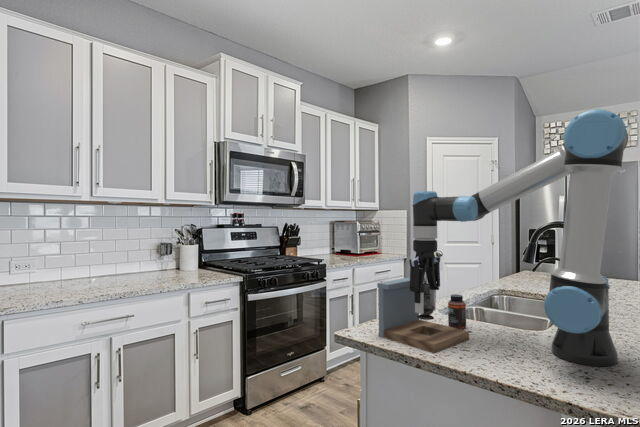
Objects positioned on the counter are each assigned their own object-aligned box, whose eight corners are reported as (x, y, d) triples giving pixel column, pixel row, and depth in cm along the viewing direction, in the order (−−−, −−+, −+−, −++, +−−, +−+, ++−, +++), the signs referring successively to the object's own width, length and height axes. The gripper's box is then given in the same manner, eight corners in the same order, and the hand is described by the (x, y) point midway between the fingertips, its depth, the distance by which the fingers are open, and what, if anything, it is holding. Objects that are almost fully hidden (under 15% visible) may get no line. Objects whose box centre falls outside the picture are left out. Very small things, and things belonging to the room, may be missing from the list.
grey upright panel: (425, 327, 137) (425, 277, 137) (388, 339, 124) (387, 284, 124) (415, 324, 140) (414, 276, 140) (377, 336, 127) (377, 283, 127)
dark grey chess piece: (435, 320, 122) (435, 282, 122) (416, 319, 123) (416, 281, 123) (434, 315, 127) (433, 279, 127) (415, 314, 128) (415, 278, 128)
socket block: (469, 339, 124) (468, 331, 124) (434, 353, 112) (434, 344, 112) (419, 326, 138) (419, 319, 138) (383, 337, 126) (383, 329, 126)
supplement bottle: (466, 326, 138) (466, 294, 138) (465, 330, 133) (465, 297, 133) (449, 324, 141) (449, 293, 141) (447, 328, 135) (446, 296, 135)
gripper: (432, 237, 134) (432, 304, 134) (397, 240, 122) (397, 313, 122) (451, 238, 128) (452, 308, 128) (416, 241, 116) (417, 318, 116)
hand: (425, 311), depth 125 cm, fingers closed on dark grey chess piece, 6 cm apart
